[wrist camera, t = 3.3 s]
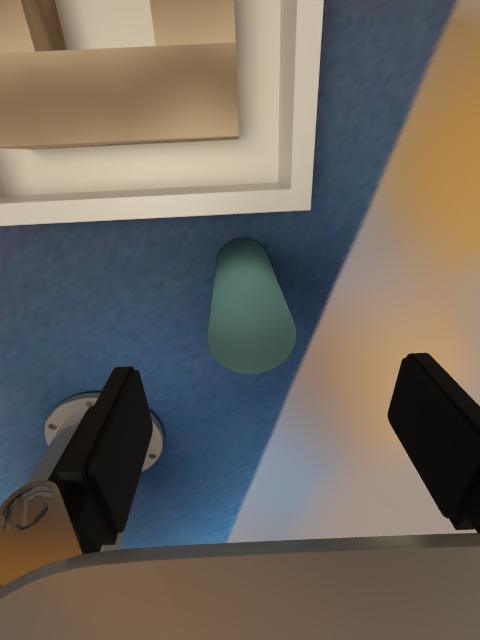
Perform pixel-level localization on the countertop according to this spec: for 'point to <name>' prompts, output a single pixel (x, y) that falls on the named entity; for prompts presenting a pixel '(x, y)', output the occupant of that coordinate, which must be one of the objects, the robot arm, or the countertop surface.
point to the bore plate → (118, 80)
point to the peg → (248, 311)
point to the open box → (185, 157)
